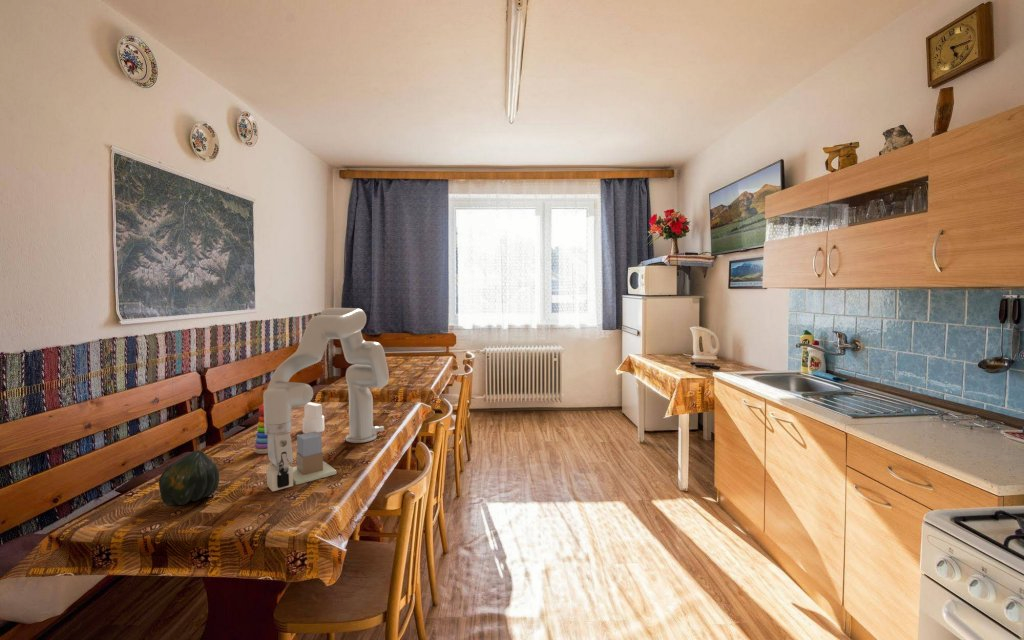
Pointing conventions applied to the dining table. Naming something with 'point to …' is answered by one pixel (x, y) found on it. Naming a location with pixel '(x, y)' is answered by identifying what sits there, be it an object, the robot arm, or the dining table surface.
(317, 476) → the baseplate
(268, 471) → the cream brick
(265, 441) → the stacking toy
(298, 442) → the slate brick
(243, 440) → the dining table surface
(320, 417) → the cylinder with rectangular tab
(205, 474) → the squash
